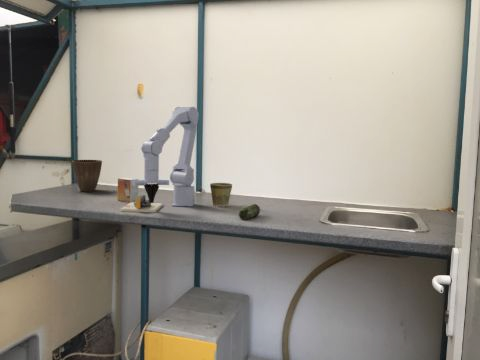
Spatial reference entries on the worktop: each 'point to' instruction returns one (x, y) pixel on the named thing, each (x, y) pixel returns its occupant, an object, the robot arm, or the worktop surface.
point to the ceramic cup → (220, 193)
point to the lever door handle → (141, 202)
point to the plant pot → (87, 173)
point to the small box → (127, 190)
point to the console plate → (142, 208)
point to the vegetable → (249, 211)
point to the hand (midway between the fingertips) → (151, 202)
